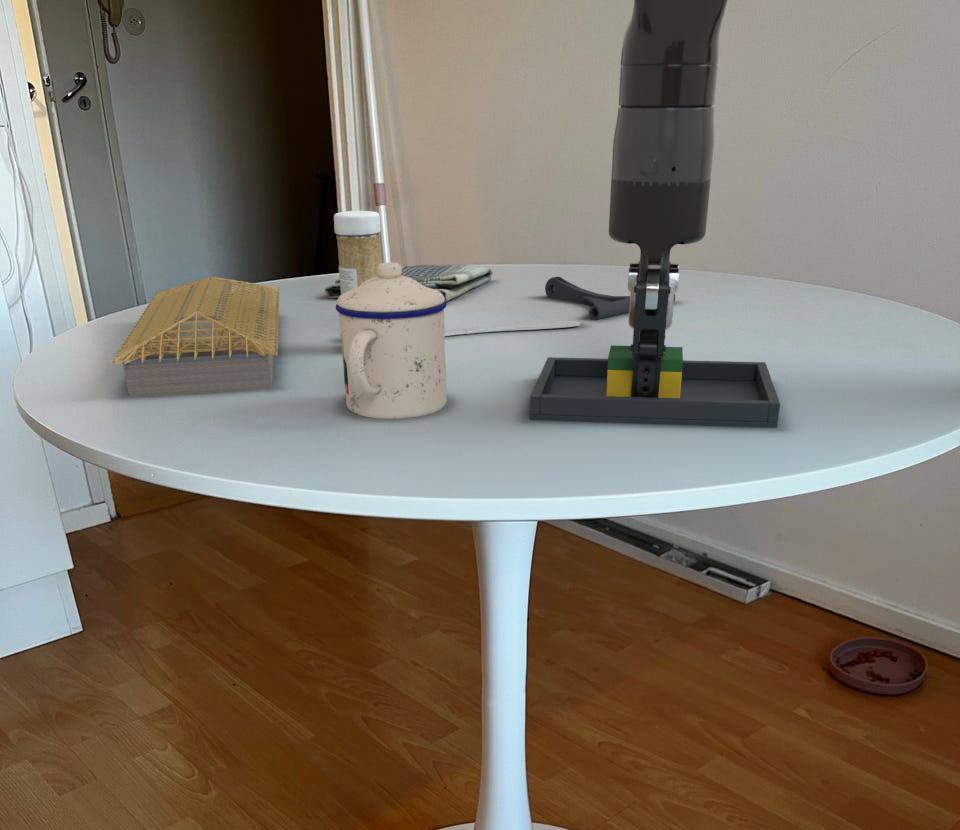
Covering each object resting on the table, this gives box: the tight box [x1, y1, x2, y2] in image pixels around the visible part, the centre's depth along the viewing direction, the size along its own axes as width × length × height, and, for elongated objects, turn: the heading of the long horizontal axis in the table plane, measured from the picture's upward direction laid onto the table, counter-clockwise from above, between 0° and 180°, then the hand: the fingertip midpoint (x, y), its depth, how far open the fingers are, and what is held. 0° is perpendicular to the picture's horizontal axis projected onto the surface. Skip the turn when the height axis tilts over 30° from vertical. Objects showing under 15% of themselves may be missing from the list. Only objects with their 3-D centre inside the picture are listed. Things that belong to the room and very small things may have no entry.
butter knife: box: [444, 320, 581, 337], centre depth 111 cm, size 1×27×3 cm
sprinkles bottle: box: [333, 210, 382, 295], centre depth 102 cm, size 5×5×14 cm
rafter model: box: [109, 276, 281, 398], centre depth 104 cm, size 35×14×6 cm, turn 10°
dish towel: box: [324, 263, 493, 302], centre depth 136 cm, size 19×18×3 cm
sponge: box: [606, 344, 684, 398], centre depth 84 cm, size 6×4×4 cm
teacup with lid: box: [335, 262, 448, 420], centre depth 83 cm, size 12×9×12 cm
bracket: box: [544, 276, 676, 321], centre depth 125 cm, size 14×15×3 cm
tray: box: [529, 356, 781, 429], centre depth 86 cm, size 20×14×2 cm
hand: (644, 395), depth 85 cm, fingers closed on sponge, 4 cm apart
